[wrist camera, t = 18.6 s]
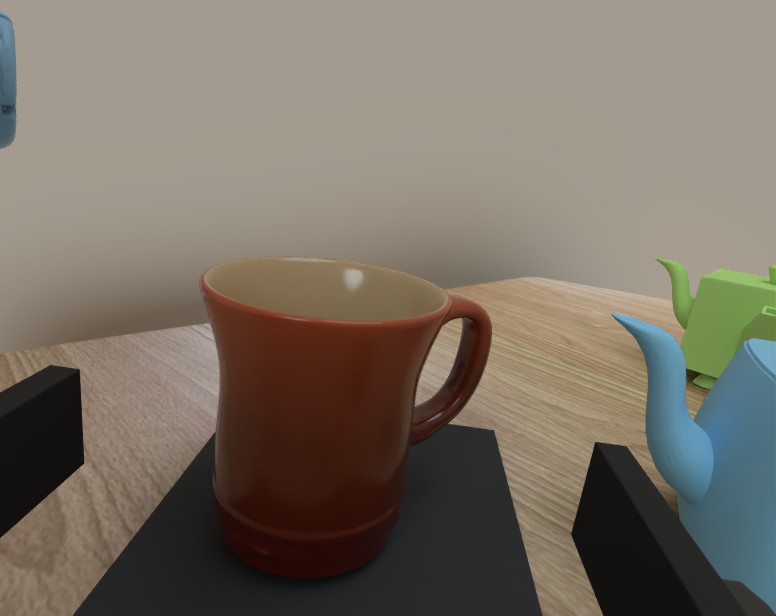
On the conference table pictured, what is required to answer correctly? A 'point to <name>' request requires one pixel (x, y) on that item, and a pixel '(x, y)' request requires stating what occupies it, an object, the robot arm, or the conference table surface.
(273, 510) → the mug
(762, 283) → the kettle
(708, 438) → the teapot
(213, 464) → the front mat
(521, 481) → the conference table surface
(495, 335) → the conference table surface
